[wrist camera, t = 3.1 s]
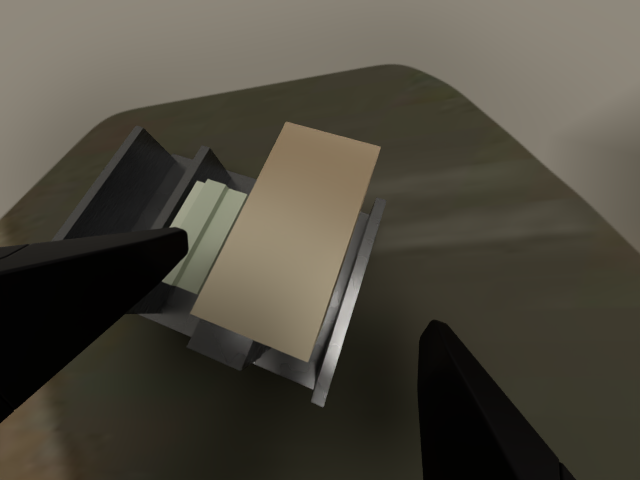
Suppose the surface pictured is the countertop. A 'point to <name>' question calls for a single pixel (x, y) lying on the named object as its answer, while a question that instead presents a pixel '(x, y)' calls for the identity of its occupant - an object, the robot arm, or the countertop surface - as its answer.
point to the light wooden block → (290, 241)
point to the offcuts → (204, 231)
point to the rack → (176, 303)
